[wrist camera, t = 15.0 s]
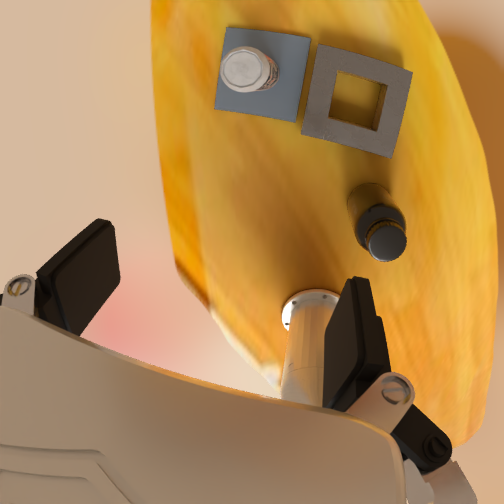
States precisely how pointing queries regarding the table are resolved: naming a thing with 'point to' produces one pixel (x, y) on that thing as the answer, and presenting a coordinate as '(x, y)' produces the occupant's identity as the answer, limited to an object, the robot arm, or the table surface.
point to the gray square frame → (387, 109)
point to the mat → (290, 79)
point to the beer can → (248, 70)
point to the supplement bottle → (377, 222)
